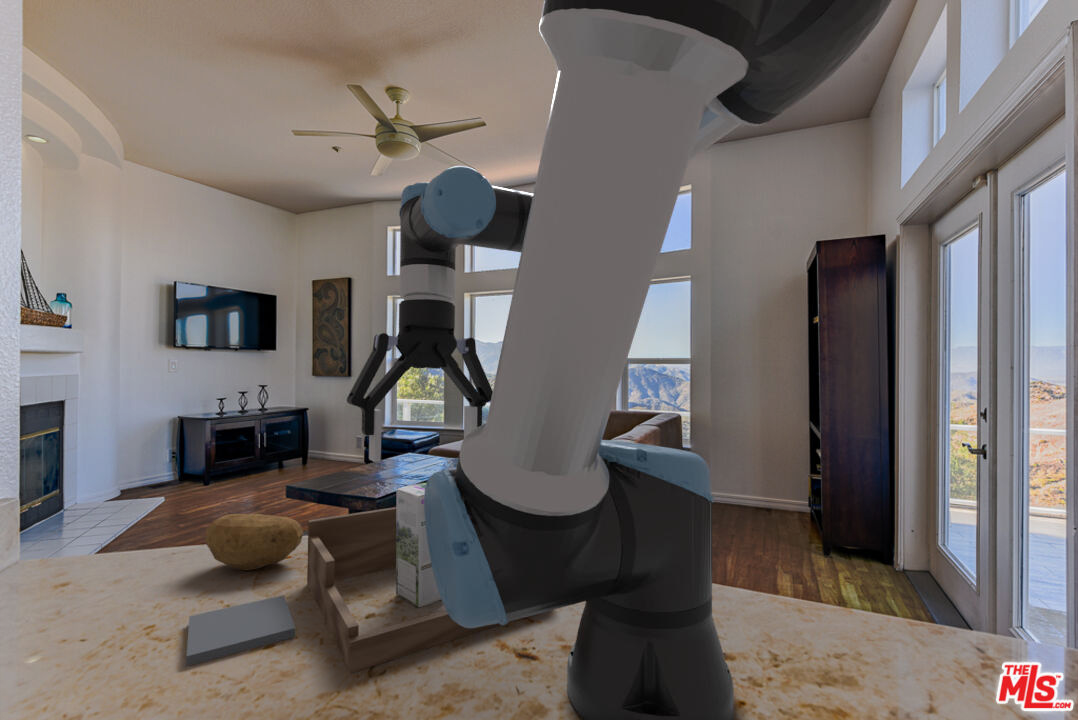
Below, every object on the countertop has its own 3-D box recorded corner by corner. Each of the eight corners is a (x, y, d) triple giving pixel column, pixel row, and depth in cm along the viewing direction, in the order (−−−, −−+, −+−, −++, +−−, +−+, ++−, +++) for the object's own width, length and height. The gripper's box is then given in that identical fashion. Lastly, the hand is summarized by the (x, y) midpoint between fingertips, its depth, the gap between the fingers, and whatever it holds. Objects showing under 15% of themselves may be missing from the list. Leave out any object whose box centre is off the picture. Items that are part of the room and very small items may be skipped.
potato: (281, 580, 70) (283, 524, 71) (187, 578, 71) (189, 523, 71) (315, 556, 80) (316, 506, 80) (232, 554, 81) (233, 505, 81)
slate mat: (295, 636, 55) (295, 628, 55) (186, 666, 50) (186, 656, 50) (283, 602, 63) (283, 595, 63) (189, 624, 58) (189, 616, 58)
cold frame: (553, 607, 63) (553, 536, 63) (350, 673, 49) (351, 581, 49) (467, 549, 83) (467, 496, 84) (307, 584, 69) (308, 520, 69)
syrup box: (454, 594, 66) (455, 486, 67) (417, 609, 62) (418, 494, 62) (430, 582, 70) (431, 480, 70) (393, 595, 66) (394, 487, 66)
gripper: (493, 310, 77) (492, 445, 77) (324, 295, 63) (321, 460, 63) (518, 305, 71) (517, 451, 71) (337, 288, 57) (334, 470, 57)
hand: (425, 456), depth 67 cm, fingers open, 13 cm apart
